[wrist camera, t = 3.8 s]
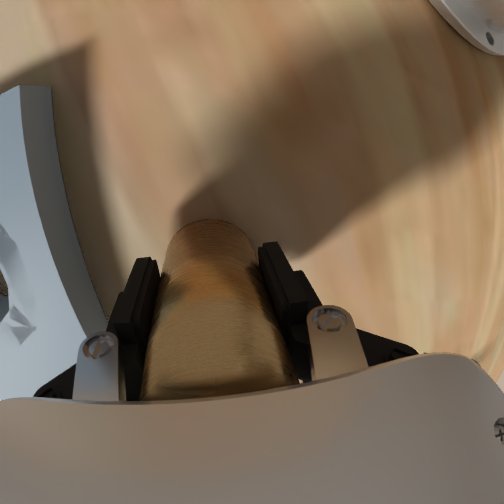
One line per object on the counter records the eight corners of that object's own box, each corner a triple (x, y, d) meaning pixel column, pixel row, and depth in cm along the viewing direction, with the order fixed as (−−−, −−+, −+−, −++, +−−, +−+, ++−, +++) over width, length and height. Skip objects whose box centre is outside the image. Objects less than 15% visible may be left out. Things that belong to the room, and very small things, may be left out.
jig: (-79, 163, 7) (-104, 175, 5) (50, 86, 8) (19, 84, 6) (27, 397, 16) (19, 419, 14) (150, 406, 17) (148, 435, 15)
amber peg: (158, 225, 12) (110, 381, 5) (251, 214, 12) (315, 359, 5) (174, 301, 14) (165, 458, 7) (256, 292, 14) (300, 442, 7)
